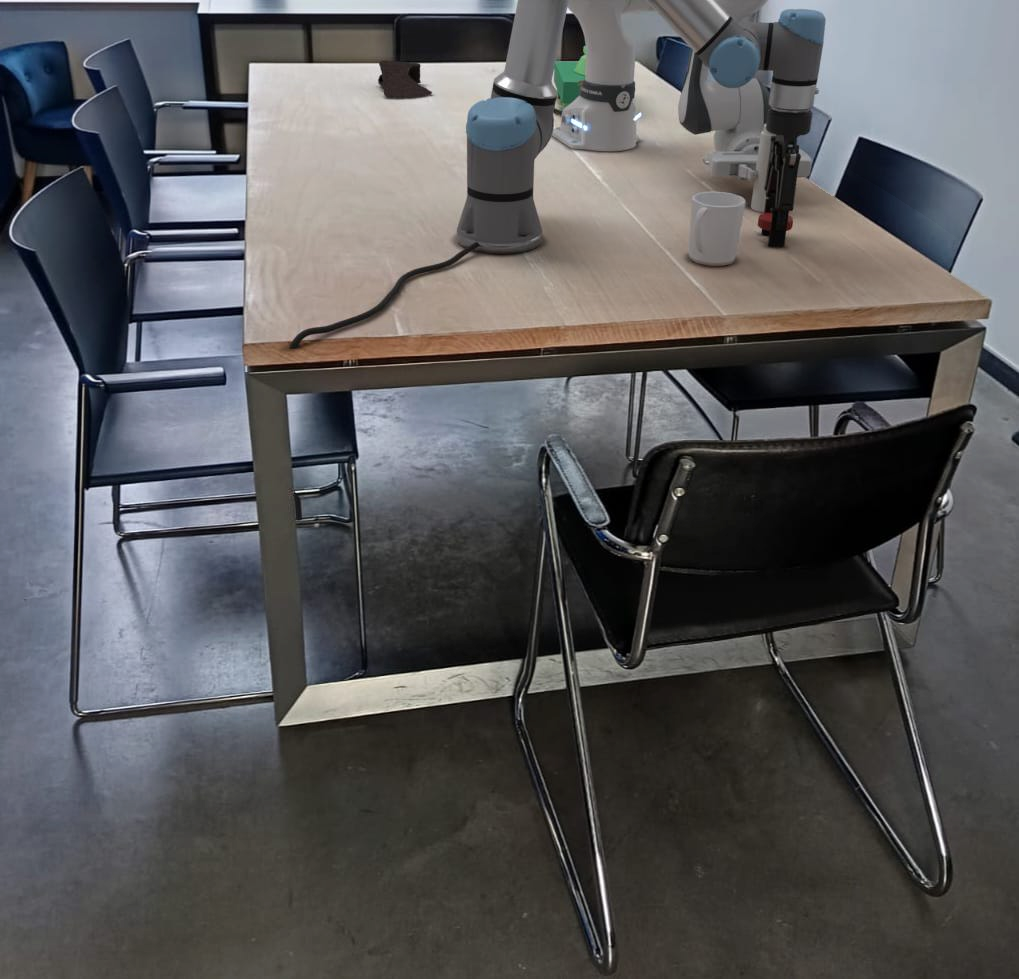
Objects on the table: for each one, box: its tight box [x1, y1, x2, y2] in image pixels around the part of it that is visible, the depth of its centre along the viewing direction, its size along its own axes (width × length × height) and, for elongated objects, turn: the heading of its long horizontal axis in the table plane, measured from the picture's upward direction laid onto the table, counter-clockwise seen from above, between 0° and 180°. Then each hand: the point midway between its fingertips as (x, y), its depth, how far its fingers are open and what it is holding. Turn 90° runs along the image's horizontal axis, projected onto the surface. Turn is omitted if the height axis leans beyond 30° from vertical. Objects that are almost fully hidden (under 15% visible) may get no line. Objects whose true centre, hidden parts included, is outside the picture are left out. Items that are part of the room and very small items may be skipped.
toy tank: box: [553, 45, 586, 111], centre depth 289 cm, size 18×12×35 cm
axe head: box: [377, 59, 433, 99], centre depth 299 cm, size 18×8×15 cm
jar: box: [750, 124, 776, 213], centre depth 211 cm, size 5×5×16 cm
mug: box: [687, 191, 747, 267], centre depth 186 cm, size 11×9×10 cm
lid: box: [757, 212, 794, 232], centre depth 197 cm, size 6×6×2 cm
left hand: (772, 239), depth 199 cm, fingers closed on lid, 6 cm apart
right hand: (770, 175), depth 211 cm, fingers closed on jar, 5 cm apart
